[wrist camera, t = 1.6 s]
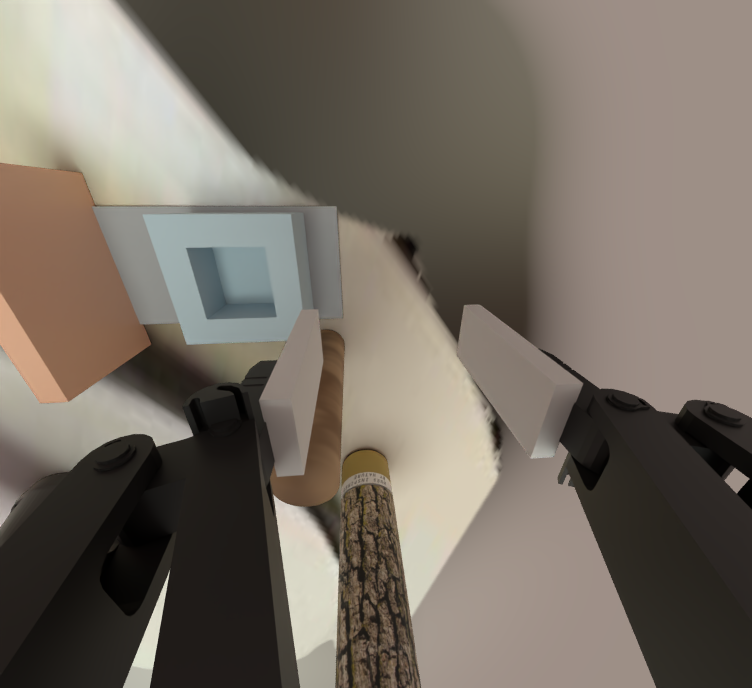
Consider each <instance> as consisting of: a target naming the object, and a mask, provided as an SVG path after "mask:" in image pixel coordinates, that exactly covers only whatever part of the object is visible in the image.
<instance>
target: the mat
mask: <svg viewBox="0 0 752 688" xmlns="http://www.w3.org/2000/svg"><path fill="white" fill-rule="evenodd" d="M92 209H93V211H94V213H95V216H96V218H97V221H98V223H99V226H100V228H101V230H102V233H103V235H104V238H105V240H106V243H107V245H108V247H109V250H110V252H111V255H112V257H113V260H114V262H115V264H116V267H117V269H118V272H119V274H120V277H121V279H122V281H123V284H124V286H125V289H126V291H127V294H128V296H129V298H130V301H131V303H132V306H133V308H134V311H135V313H136V315H137V318H138V320H139V323H140V324H170V323H179V320H178V317H177V314H176V311H175V308H174V305H173V302H172V300H171V297H170V294H169V291H168V288H167V285H166V282H165V279H164V276H163V273H162V270H161V267H160V265H159V262H158V259H157V256H156V253H155V250H154V247H153V244H152V241H151V238H150V235H149V232H148V229H147V227H146V224H145V221H144V218H143V215H142V214H167V213H256V212H303V213H304V223H305V232H306V242H307V251H308V260H309V270H310V279H311V288H312V298H313V307H314V309H318V311H319V319H330V318H343V307H342V290H341V272H340V255H339V238H338V220H337V206H92Z"/></svg>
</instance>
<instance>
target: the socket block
mask: <svg viewBox="0 0 752 688" xmlns="http://www.w3.org/2000/svg"><path fill="white" fill-rule="evenodd" d="M142 215H143V218H144V221H145V224H146V227H147V229H148V232H149V235H150V238H151V241H152V244H153V247H154V250H155V253H156V256H157V259H158V262H159V265H160V267H161V270H162V273H163V276H164V279H165V282H166V285H167V288H168V291H169V294H170V297H171V300H172V302H173V305H174V308H175V311H176V314H177V317H178V320H179V323H180V326H181V329H182V332H183V335H184V338H185V340H186V343H187V345H190V344H217V343H244V342H272V341H287V339H288V337H289V335H290V333H291V331H292V329H293V327H294V324H295V322H296V320H297V318H298V316H299V314H300V312H301V310H308V309H314V307H313V298H312V288H311V279H310V270H309V260H308V251H307V242H306V232H305V223H304V213H303V212H256V213H167V214H142Z"/></svg>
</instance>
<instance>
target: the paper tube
mask: <svg viewBox="0 0 752 688" xmlns="http://www.w3.org/2000/svg"><path fill="white" fill-rule="evenodd" d="M336 653H337V654H336V686H335V687H336V688H421V684H420V677H419V670H418V664H417V657H416V650H415V643H414V637H413V630H412V623H411V616H410V609H409V603H408V596H407V589H406V582H405V576H404V569H403V562H402V555H401V549H400V542H399V535H398V528H397V522H396V515H395V508H394V501H393V495H392V488H391V482H390V476H389V469H388V463H387V460H386V459H385V457H384V456H383V455H381V454H380V453H378V452H376V451H372V450H361V451H357V452H355V453H353V454H351V455H350V456H348V457H347V459H346V460H345V461H344V463H343V466H342V489H341V518H340V552H339V585H338V619H337V652H336Z"/></svg>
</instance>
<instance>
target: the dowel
mask: <svg viewBox="0 0 752 688" xmlns="http://www.w3.org/2000/svg"><path fill="white" fill-rule="evenodd" d="M320 332H321V342H322V352H323V366H322V372H321V378H320V384H319V390H318V396H317V402H316V407H315V413H314V419H313V425H312V431H311V437H310V443H309V448H308V454H307V460H306V466H305V472H304V475H296V476H282V477H277V474H276V470H275V466H274V467H273V470H272V474H271V477H270V481H271V485H272V490H273V494H274V496H276V497H277V498H278V499H279V500H281V501H283V502H285V503H287V504H290V505H294V506H303V507H305V506H315V505H319V504H322V503H324V502H326V501H328V500H330V499H331V498H332V497H333V496H334V495H335V494H336V493H337V491H338V489H339V485H340V459H341V432H342V405H343V378H344V351H345V344H344V340H343V338H342V337H341V336H340V335H339V334H338V333H337V332H335V331H332V330H321V331H320Z"/></svg>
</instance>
